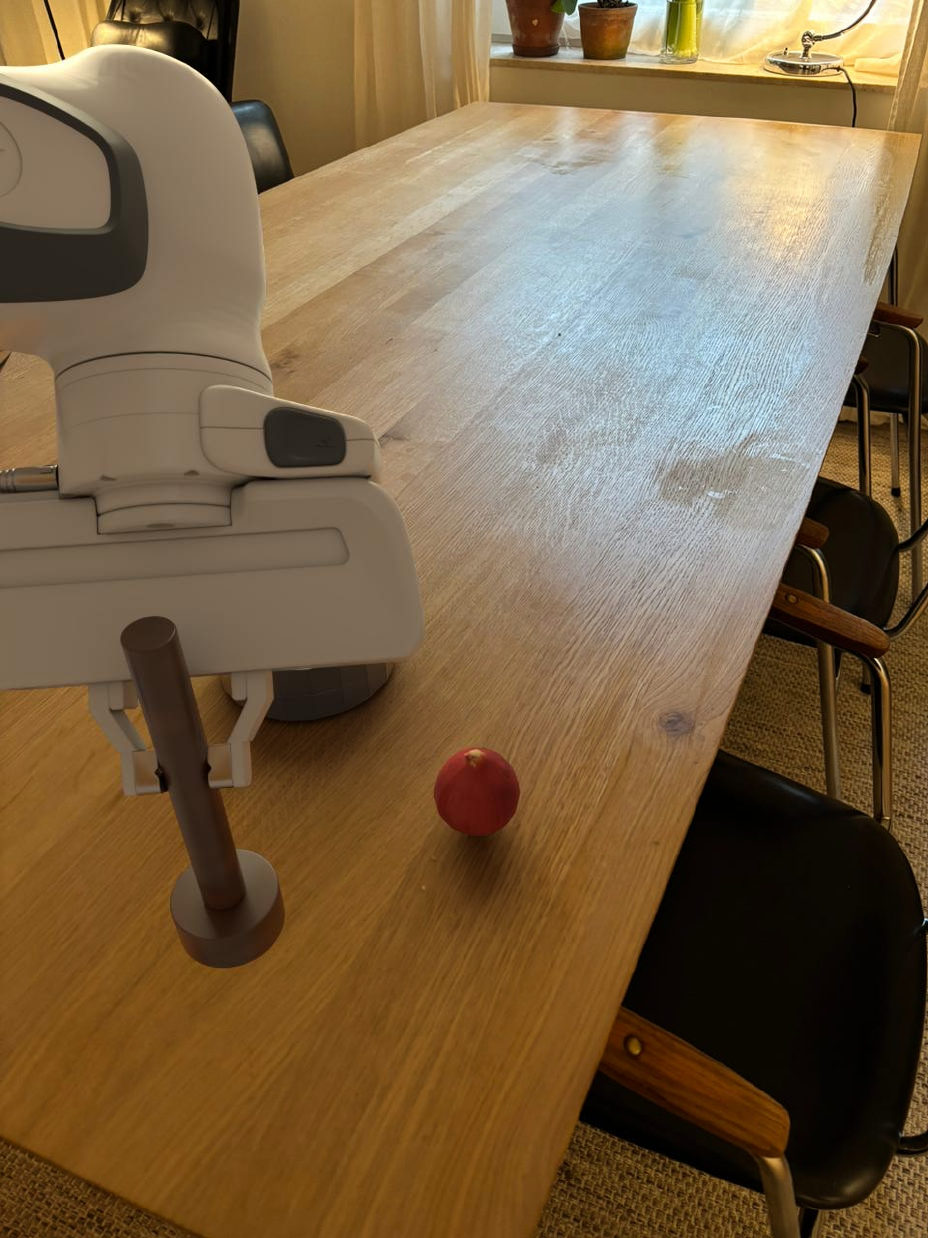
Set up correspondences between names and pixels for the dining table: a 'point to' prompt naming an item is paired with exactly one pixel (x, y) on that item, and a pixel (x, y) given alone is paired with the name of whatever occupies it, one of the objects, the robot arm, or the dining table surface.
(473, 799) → the onion
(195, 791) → the upright rod on disc
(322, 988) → the dining table surface
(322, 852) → the dining table surface
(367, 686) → the bowl
